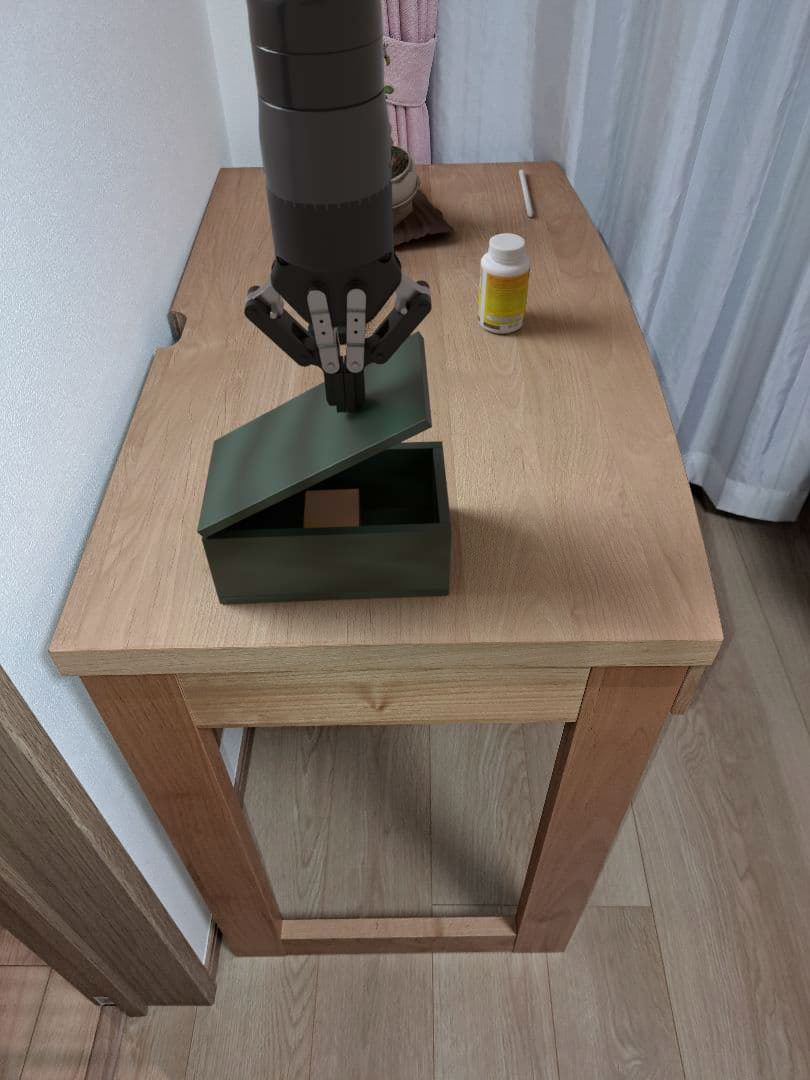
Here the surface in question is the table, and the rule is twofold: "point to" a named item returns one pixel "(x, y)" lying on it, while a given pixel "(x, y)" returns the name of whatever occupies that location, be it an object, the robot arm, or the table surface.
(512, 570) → the table surface
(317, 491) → the block
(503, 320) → the supplement bottle
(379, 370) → the lid
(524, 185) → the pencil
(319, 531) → the chest
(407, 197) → the potted plant
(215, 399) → the table surface
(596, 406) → the table surface
